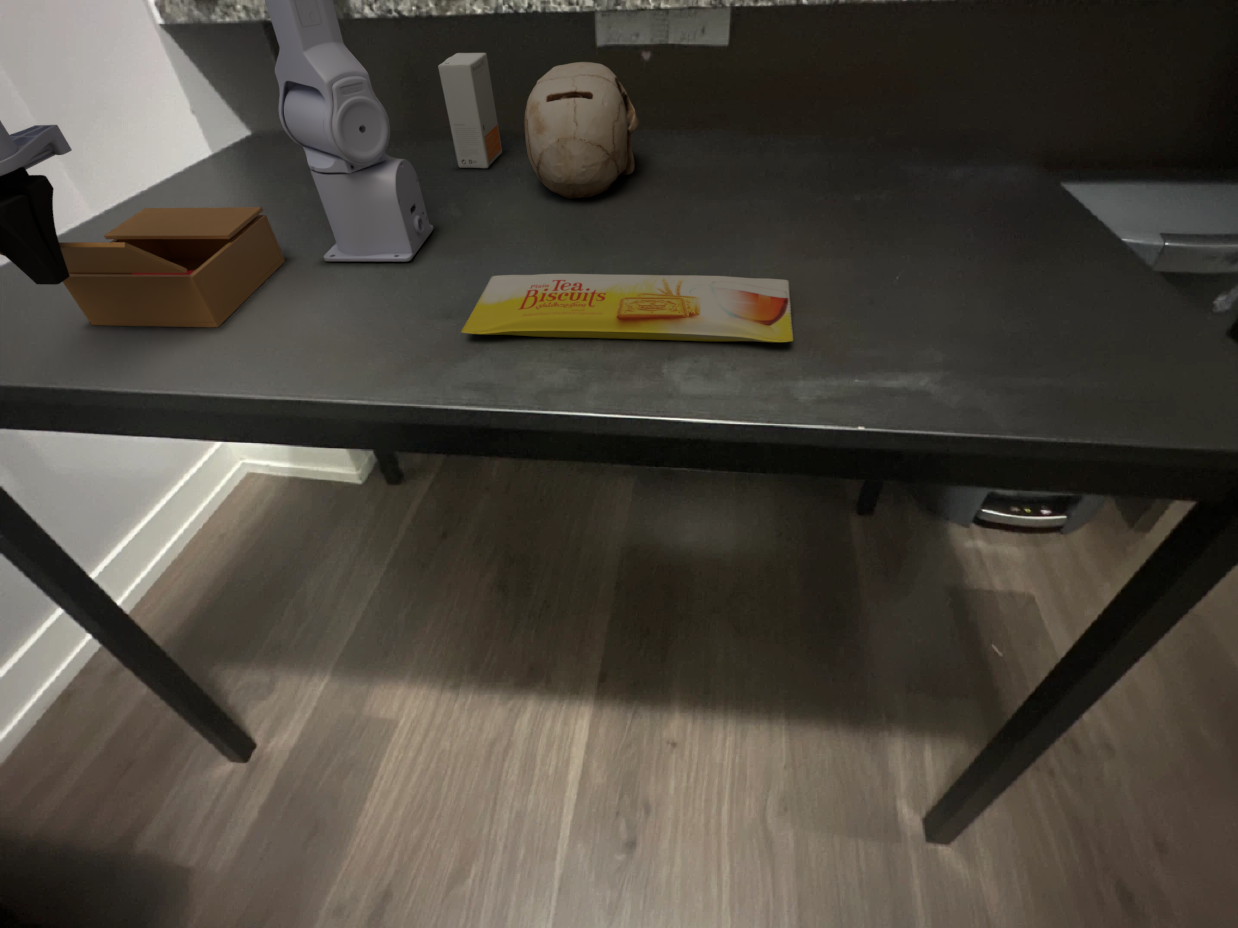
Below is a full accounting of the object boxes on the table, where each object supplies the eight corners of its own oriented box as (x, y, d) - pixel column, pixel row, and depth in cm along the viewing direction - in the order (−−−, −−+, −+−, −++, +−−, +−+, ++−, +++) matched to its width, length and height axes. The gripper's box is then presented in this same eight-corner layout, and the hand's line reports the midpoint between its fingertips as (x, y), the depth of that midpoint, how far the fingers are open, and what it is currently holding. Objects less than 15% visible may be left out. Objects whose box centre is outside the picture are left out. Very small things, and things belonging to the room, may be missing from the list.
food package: (456, 321, 56) (489, 264, 64) (462, 344, 58) (494, 286, 65) (795, 329, 52) (790, 267, 60) (792, 354, 54) (787, 291, 61)
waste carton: (285, 260, 72) (262, 206, 68) (218, 327, 62) (187, 268, 58) (173, 260, 73) (144, 207, 70) (91, 325, 64) (53, 268, 60)
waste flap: (124, 242, 52) (124, 247, 52) (187, 268, 59) (186, 273, 59) (-22, 242, 54) (-23, 247, 54) (54, 267, 60) (54, 272, 60)
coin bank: (603, 142, 92) (598, 30, 82) (676, 195, 82) (679, 75, 72) (498, 174, 87) (478, 59, 77) (561, 235, 78) (548, 112, 67)
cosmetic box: (489, 169, 88) (469, 64, 80) (458, 168, 89) (435, 65, 81) (504, 152, 92) (487, 51, 84) (474, 152, 93) (455, 52, 85)
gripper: (-41, 61, 50) (72, 238, 59) (-245, 126, 39) (-70, 329, 49) (45, 58, 49) (145, 238, 58) (-142, 123, 39) (17, 330, 48)
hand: (53, 280), depth 53 cm, fingers closed
